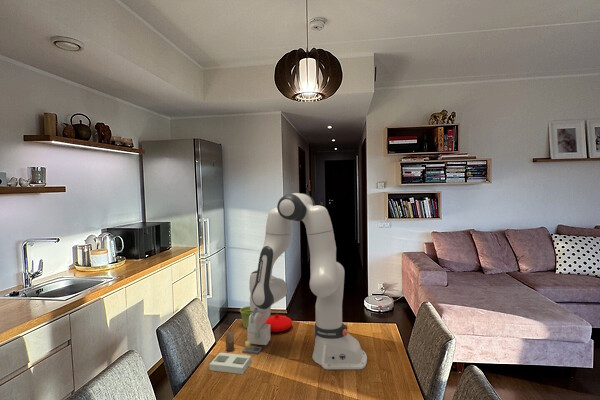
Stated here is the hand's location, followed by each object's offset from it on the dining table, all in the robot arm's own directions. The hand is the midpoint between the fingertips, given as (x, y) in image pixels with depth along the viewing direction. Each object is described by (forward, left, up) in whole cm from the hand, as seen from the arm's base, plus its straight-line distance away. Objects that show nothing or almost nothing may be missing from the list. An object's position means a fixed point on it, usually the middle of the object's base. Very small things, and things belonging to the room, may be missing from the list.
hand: (260, 334), depth 148 cm
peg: (+11, +9, -4) cm, 15 cm away
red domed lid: (-3, -16, -4) cm, 17 cm away
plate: (+1, +8, -4) cm, 9 cm away
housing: (+1, 0, -3) cm, 3 cm away
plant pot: (+12, -16, -4) cm, 20 cm away
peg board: (+5, +21, -4) cm, 22 cm away
